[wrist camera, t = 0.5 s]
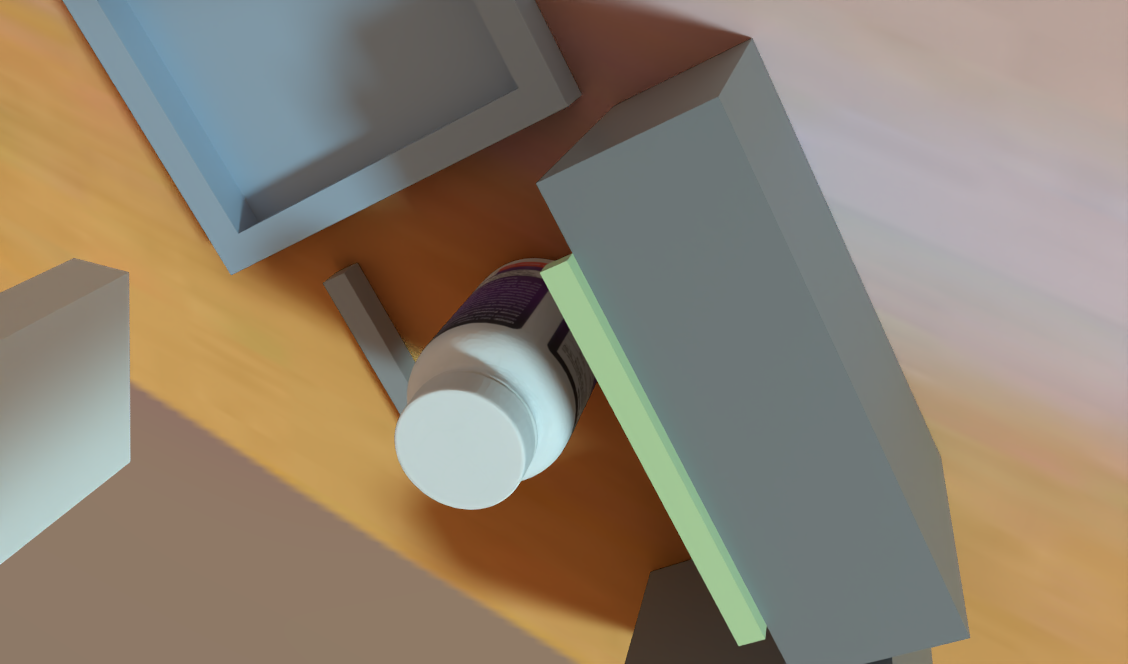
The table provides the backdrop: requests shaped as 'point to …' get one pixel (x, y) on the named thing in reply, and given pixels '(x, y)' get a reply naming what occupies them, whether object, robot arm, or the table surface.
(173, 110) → the tray
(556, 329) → the pill bottle
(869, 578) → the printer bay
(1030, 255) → the table surface
